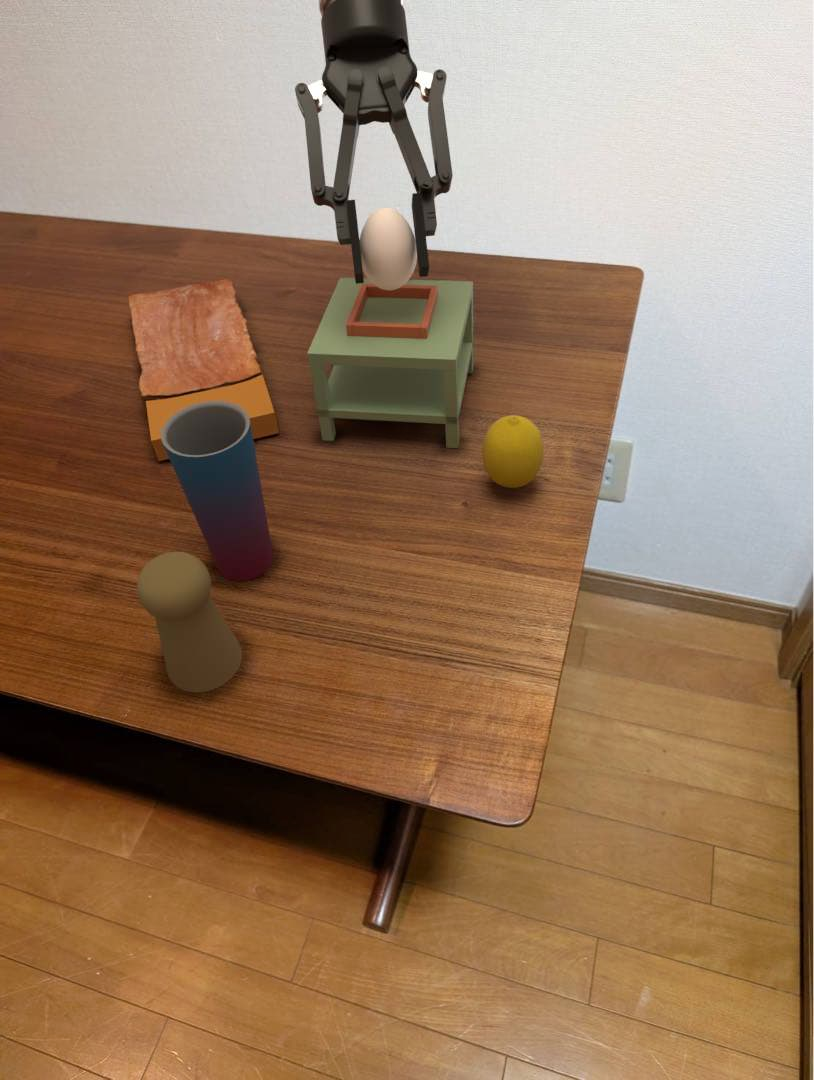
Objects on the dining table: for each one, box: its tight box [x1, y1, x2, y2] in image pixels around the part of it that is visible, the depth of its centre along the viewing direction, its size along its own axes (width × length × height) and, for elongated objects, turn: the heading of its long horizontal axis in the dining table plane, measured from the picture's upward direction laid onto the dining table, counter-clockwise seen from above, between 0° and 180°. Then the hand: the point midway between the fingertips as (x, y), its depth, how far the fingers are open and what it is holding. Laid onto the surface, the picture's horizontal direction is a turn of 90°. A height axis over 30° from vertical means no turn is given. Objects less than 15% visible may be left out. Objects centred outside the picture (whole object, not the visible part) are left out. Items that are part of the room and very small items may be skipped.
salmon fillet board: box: [127, 278, 280, 462], centre depth 94 cm, size 13×30×3 cm, turn 17°
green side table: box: [306, 277, 474, 449], centre depth 85 cm, size 14×14×12 cm
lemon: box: [481, 414, 544, 489], centre depth 76 cm, size 6×6×8 cm
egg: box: [359, 206, 418, 290], centre depth 76 cm, size 5×5×8 cm
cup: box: [161, 401, 274, 582], centre depth 69 cm, size 7×7×15 cm
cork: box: [136, 551, 243, 694], centre depth 63 cm, size 6×6×11 cm
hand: (391, 274), depth 74 cm, fingers closed on egg, 5 cm apart
